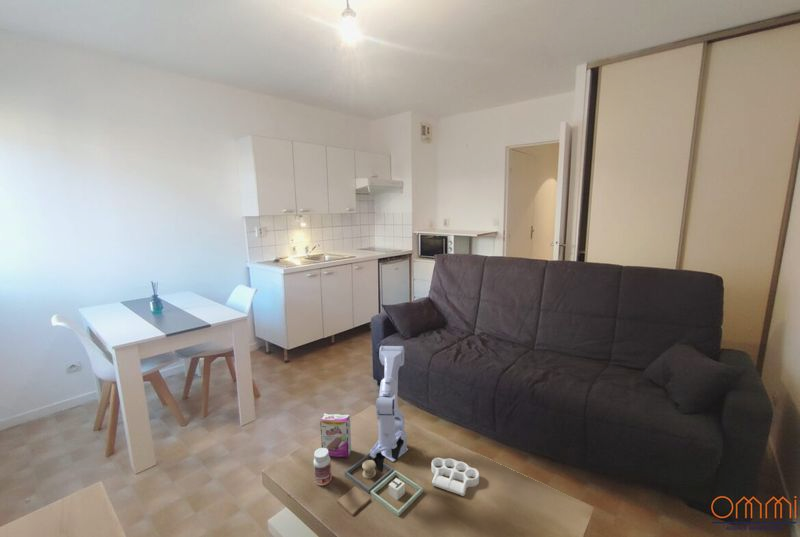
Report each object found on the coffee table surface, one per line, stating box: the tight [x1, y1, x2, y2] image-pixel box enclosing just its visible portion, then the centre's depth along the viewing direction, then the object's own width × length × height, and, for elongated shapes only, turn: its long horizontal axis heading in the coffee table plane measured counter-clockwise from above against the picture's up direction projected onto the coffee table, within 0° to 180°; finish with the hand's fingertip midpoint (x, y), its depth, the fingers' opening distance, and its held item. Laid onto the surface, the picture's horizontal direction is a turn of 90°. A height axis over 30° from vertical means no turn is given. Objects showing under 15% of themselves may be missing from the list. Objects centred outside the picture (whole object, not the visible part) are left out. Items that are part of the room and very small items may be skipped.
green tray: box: [369, 470, 424, 517], centre depth 122 cm, size 13×13×2 cm
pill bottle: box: [313, 447, 333, 486], centre depth 128 cm, size 6×6×11 cm
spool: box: [361, 459, 377, 480], centre depth 131 cm, size 5×5×4 cm
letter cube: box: [388, 477, 406, 501], centre depth 122 cm, size 4×4×4 cm
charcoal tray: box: [344, 452, 395, 495], centre depth 131 cm, size 13×13×2 cm
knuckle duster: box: [430, 457, 480, 497], centre depth 129 cm, size 3×18×15 cm
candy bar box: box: [319, 413, 352, 458], centre depth 141 cm, size 11×5×16 cm, turn 85°
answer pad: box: [336, 486, 371, 516], centre depth 119 cm, size 8×8×1 cm
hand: (387, 464), depth 123 cm, fingers open, 7 cm apart
